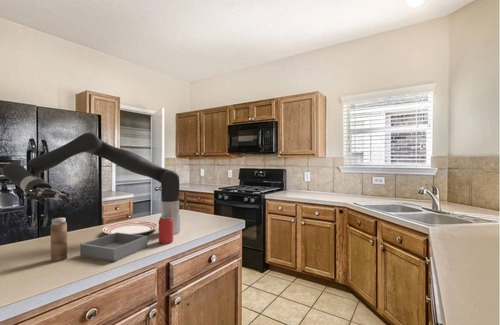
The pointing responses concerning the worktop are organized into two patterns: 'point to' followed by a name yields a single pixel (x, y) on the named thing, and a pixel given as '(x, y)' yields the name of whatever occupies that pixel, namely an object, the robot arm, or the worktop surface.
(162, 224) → the beer can
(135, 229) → the dinner plate
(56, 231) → the pepper mill
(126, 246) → the bin
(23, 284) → the worktop surface
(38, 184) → the robot arm
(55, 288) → the worktop surface
